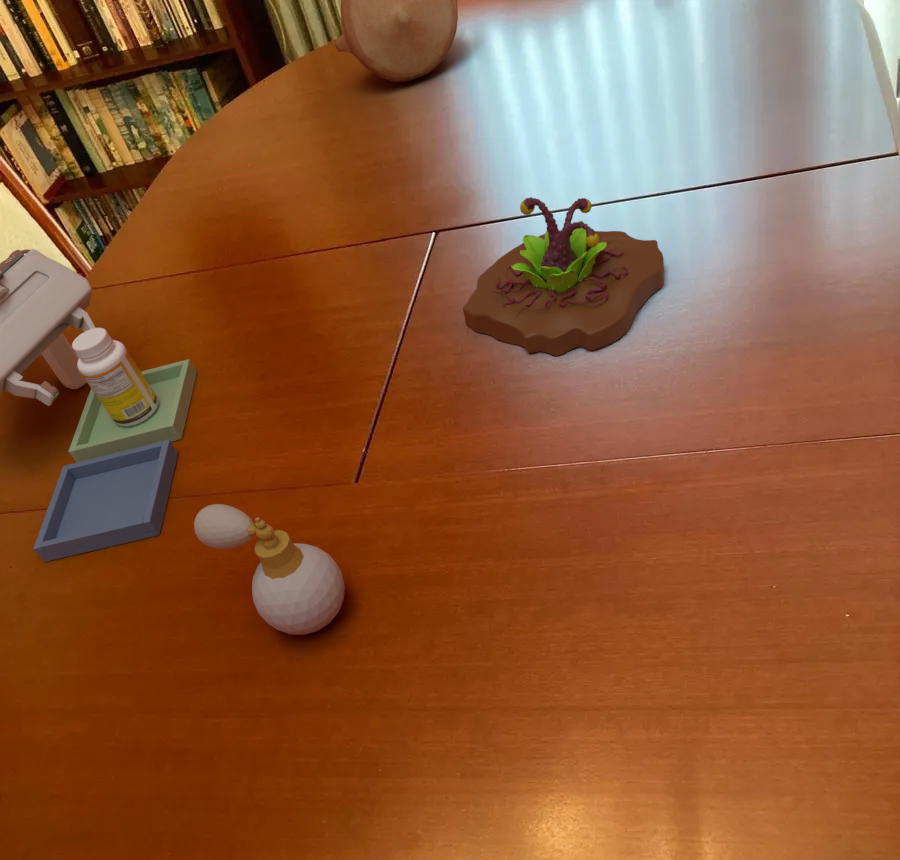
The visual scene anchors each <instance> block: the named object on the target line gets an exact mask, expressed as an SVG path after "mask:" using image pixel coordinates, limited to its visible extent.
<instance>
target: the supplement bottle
mask: <svg viewBox="0 0 900 860" xmlns="http://www.w3.org/2000/svg"><path fill="white" fill-rule="evenodd" d="M71 346H72V348H73V349H74V351H75V353H76V355H77V356H78V357H79V360H78V363H77V367H78V370H79V371H80V373H81V374H82V376H83V377H84V379H85V380H86V382H87V384H88V386H89V387H90V390H91V389H92V390H93V392H94V393H95V395H96V396H97V397H98V399H99V400H100V402H101V403H102V405H103V406H104V407H105V409H106V410H107V412H108V413H109V415H110V416H111V418H112V419H113V420H114V422H115V423H117V424H118V425H120V426H134V425H137V424H139V423H141V422H143V421H145V420H147V419H148V418H149V417H150V416H151V415H152V414H153V413H154V412H155V411H156V409H157V406H158V399H157V397H156V395H155V394H154V392H153V390H152V389H151V387H150V386H149V384H148V383H147V381H146V379H145V378H144V376H143V375H142V373H141V372H142V371H141V370H140V368H139V366H138V365H137V364H136V361H135V360H134V359H133V357H132V356H131V354H130V352H129V351H128V349H127V348H126V346H125V345H124V343H122V342H121V341H119V340H117V339H112V336H110V334H109V333H108V331H107V330H106V329H105V328H103V327H95V328H93V329H90V330H87V331H85V332H84V331H83V332H82V333H80V334H79V335H78V336H76V338H75V339H74V340H73V341H72V343H71Z"/></svg>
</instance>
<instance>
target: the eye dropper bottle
mask: <svg viewBox="0 0 900 860" xmlns="http://www.w3.org/2000/svg"><path fill="white" fill-rule="evenodd" d="M40 355H41V356H42V357H43V359H44V360H45V362H46V363H47V365H48V366H49V368H50V369H51V370H52V371H53V373H54V375H55V376H56V377H57V380H59V381H60V383H61V384H62V385H63V386H64V387H65V388H67V389H71V390H79V389H81V388H83V386H85V385H86V384H88V383H87V382H86V380H85V379H84V377H83V376H82V374H81V373H80V371H79V370H78V367H77V363H78V360H79V357H78V356H77V355H76V353H75V351H74V349H73V348H72V344H71V343H70V341H69V340H68V339H67V337H66V336H65V334H64V332H62V333H61V334H60V335H59V336H58V337H57V338H56V339H55V340H54V341H53V342H52V343H51V344H50V345H49V346H48V347H47V348H46V349H45V350H44V351H43V352H42V353H41V354H40Z"/></svg>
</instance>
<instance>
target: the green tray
mask: <svg viewBox="0 0 900 860" xmlns="http://www.w3.org/2000/svg"><path fill="white" fill-rule="evenodd" d="M141 373H142V375H143V376H144V378H145V379H146V381H147V383H148V384H149V386H150V387H151V389H152V390H153V392H154V394H155V395H156V397H157V399H158V406H157V409H156V411H155V412H154V413H153V414H152V415H151V416H150V417H149V418H148V419H147V420H145V421H143V422H141V423H139V424H137V425H134V426H120V425H118V424H117V423H115V422H114V420H113V419H112V418H111V416H110V415H109V413H108V412H107V410H106V409H105V407H104V406H103V405H102V403H101V402H100V400H99V399H98V397H97V396H96V395H95V393H94V392H93V390H92V389H91V388H90V391H89V393H88V395H87V398H86V402H85V404H84V407H83V410H82V413H81V415H80V418H79V421H78V423H77V426H76V429H75V432H74V434H73V438H72V440H71V443H70V445H69V448H68V453H69V455H70V457H71V458H72V459H73V460H74V462H75V463H78V462H82V461H86V460H90V459H94V458H98V457H102V456H106V455H110V454H114V453H118V452H122V451H126V450H130V449H134V448H138V447H142V446H146V445H150V444H154V443H158V442H162V441H166V440H170V441H171V443H172V442H175V441H179V440H182V438H183V435H184V431H185V426H186V421H187V416H188V414H189V413H188V412H189V409H190V404H191V400H192V396H193V391H194V387H195V382H196V378H197V374H198V372H197V370H196V368H195V367H194V364H193V363H192V361H191V360H190V358H188V359H184V360H179V361H175V362H172V363H168V364H165V365H161V366H156V367H153V368H150V369H145V370H143V371H141Z"/></svg>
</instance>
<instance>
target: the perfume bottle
mask: <svg viewBox="0 0 900 860" xmlns="http://www.w3.org/2000/svg"><path fill="white" fill-rule="evenodd" d="M254 521H255V522H254ZM254 521H253V520H252V518H250V516H249V515H248V514H247V513H245V512H244V511H242V510H240V509H238V508H236V507H235V506H232V505H228V504H224V503H213V504H209V505H206V506H205V507H203V508H201V509H200V510H199V512H198V513H197V514H196V517H195V518H194V522H193V529H194V534H195V536H196V537H197V539H198V541H200V542H201V543H202V544H203V545H205V546H207V547H209V548H212V549H215V550H216V549H217V550H228V549H235V548H237V547H241V546H243V545H244V544H247V543H248V542H250V540H251V539H253V538H254V536H255V535H256V537H257V538H259V539H258V540H256V542H255V545H254V548H253V549H254V552H255V555H256V556H257V558H258V560H259V561H260V562H259V563H258V564H257V567H256V569H255V571H254V574H253V576H252V583H251V595H252V596H251V597H252V603H253V604H254V606H255V608H256V611H257V613H258V615H259V616H260V617H261V618H262V619H263V621H264V622H266V624H267V625H268V626H271V627H272V628H274V629H275V630H277V631H278V632H282V633H285V634H287V635H290V636H291V635H296V636H297V635H298V636H305V635H307V634H308V635H309V634H311V633H312V634H313V633H316V632H319V631H320V630H322V629H323V628H324V627H326V626H328V625H329V624H330V623H331V622H332V621H333V620H334V618H336V616H337V615H338V613H339V612H340V609H341V608H342V605H343V603H344V599H345V591H346V590H345V589H346V587H345V581H344V578H343V577H344V576H343V573H342V571H341V569H340V567H339V565H338V563H337V562H336V561H335V560H334V559H333V557H332V556H331V555H330V554H329V553H328V552H326V551H324V550H323V549H321V548H319V547H318V546H316V545H311V544H308V543H300V542H299V543H295V542H293V541H292V539H291V537H290V535H289V534H288V532H286V531H284V530H281V529H276V530H274V527H273V526H271V525H270V524H267V523H266V521H265V520H264V519H261V518H260V517H259V516H258V517H255V519H254Z"/></svg>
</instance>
